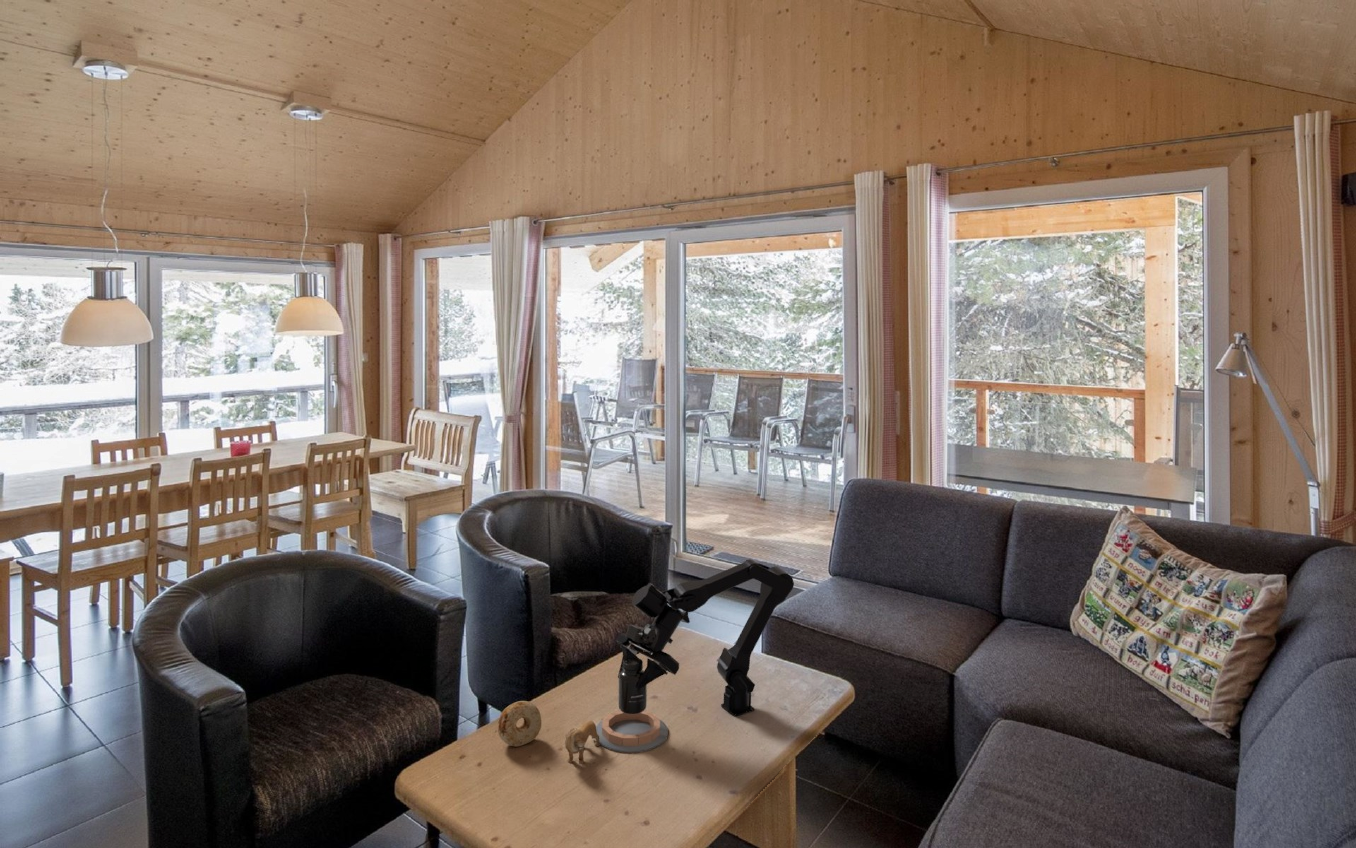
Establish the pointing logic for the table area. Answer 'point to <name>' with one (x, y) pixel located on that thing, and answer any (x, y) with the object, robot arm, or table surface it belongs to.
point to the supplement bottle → (632, 687)
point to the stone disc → (526, 730)
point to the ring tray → (631, 732)
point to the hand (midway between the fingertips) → (628, 683)
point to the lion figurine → (580, 739)
